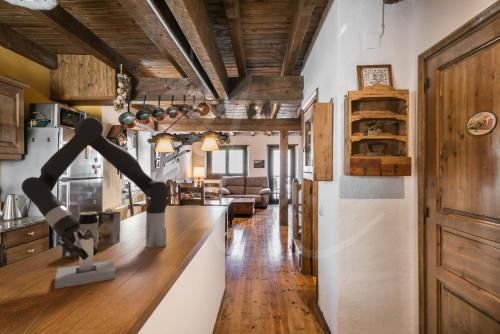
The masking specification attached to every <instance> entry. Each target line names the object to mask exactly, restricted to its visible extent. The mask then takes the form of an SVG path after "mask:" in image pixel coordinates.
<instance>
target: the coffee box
mask: <svg viewBox="0 0 500 334" xmlns="http://www.w3.org/2000/svg"><path fill="white" fill-rule="evenodd" d="M120 241H121V211H107V210H105V211H102V212H99V213H98V232H97V244H107V245H115V244H117V243H118V242H120Z"/></svg>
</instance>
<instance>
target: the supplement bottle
mask: <svg viewBox="0 0 500 334" xmlns="http://www.w3.org/2000/svg"><path fill="white" fill-rule="evenodd" d="M61 247H62V246H61ZM68 247H69V248H71V247H70V246H68ZM61 250H62V252H61V256H62V258H63V259H72V258H76V257H77V256H79V255H78V254H77V253H75V252H72V253H70V252H68V251H67V250H66V249H65V248H63V247H62V248H61Z"/></svg>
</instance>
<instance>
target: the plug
mask: <svg viewBox="0 0 500 334" xmlns="http://www.w3.org/2000/svg"><path fill="white" fill-rule="evenodd" d="M80 245H81V247H82V248H83V249H84V250H85V251H86V253H87V254H88V255H89V256H88V257H87V258H86V259H85V260H83V259H82V258H81V257H80V256H79V255H78V257H79V259H78V265H79V271H80V272H86V271H90V270H92V269H93V263H94V256H93V245H94V238H89V233H85V234H84V238H83V239H80Z"/></svg>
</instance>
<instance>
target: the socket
mask: <svg viewBox="0 0 500 334" xmlns="http://www.w3.org/2000/svg"><path fill="white" fill-rule="evenodd" d="M114 264H115V263H114V262H113V260H107V261H100V262H93V269H92V270H90V271H86V272H80V271H79V264H78V265H72V266H65V267H64V266H63V267H58V268H57V271H56V274H55V278H54V289H55V290H56V289H61V288H67V287H73V286H74V287H75V286H79V285H84V284H91V283H96V282H101V281H107V280H114V279H116V268H115V265H114Z"/></svg>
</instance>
